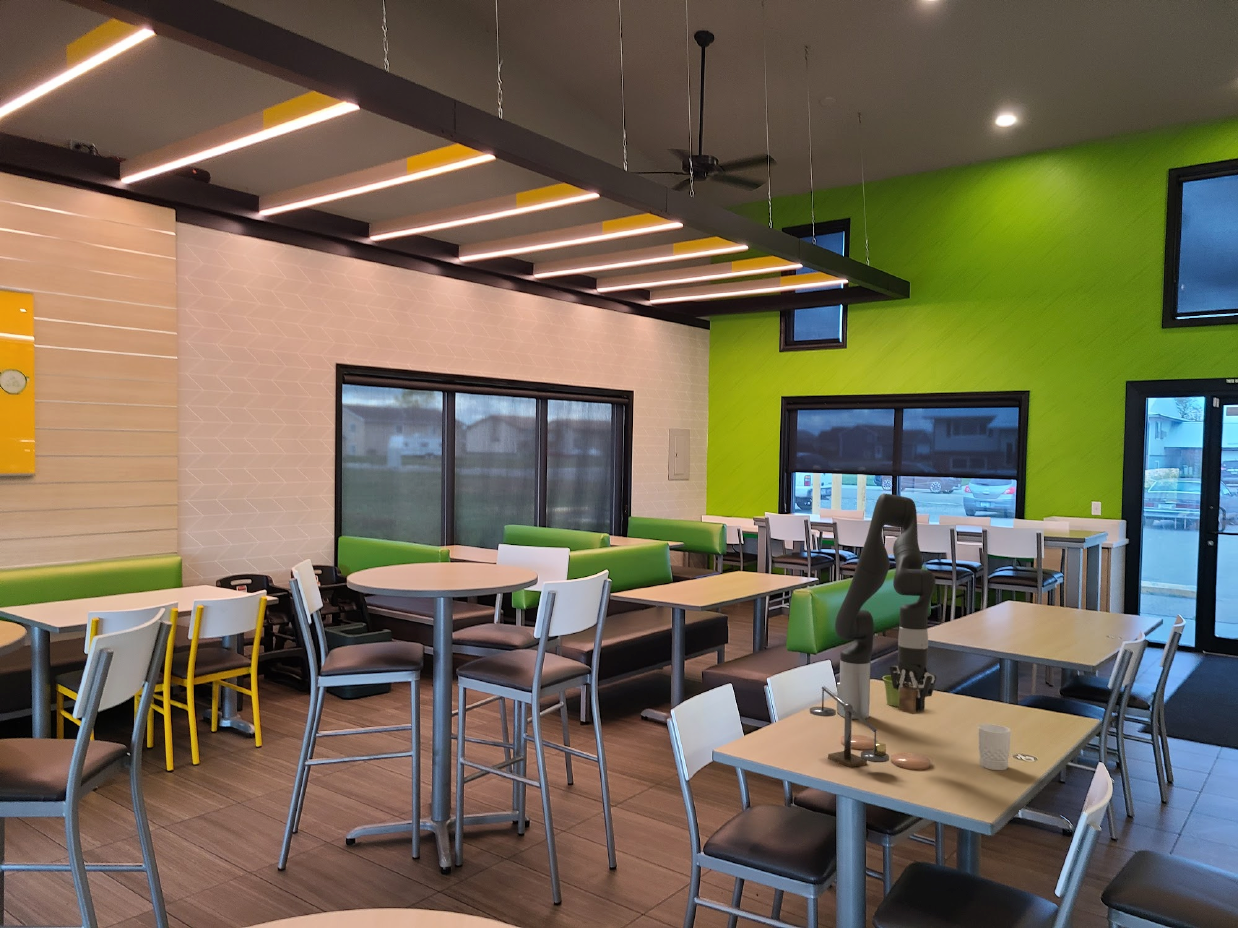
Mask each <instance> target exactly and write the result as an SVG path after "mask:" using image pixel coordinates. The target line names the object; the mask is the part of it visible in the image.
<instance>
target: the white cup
mask: <svg viewBox="0 0 1238 928" xmlns="http://www.w3.org/2000/svg"><path fill="white" fill-rule="evenodd" d="M977 729H978V730H977V731H978V735H977V736H978V754H979V764H980V766H981V767H982V768H983V769H987V770H992V771H1005V770H1007V769H1008V767H1009V758H1010V749H1011V748H1010V747H1011V735H1012V733H1011V732H1012V730H1011V729H1010V728H1009V727H1007V726H1003V725H999V724H992V723H983V724H980V725H978V726H977Z"/></svg>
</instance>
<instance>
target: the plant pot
mask: <svg viewBox="0 0 1238 928" xmlns="http://www.w3.org/2000/svg"><path fill="white" fill-rule="evenodd" d="M881 678H882V680H883V683H884V689H885V695H886V696H885V698H886V703H887V705H888V706H894V707H896V706H897V707H898V708H899V691H898V690H897V689H894V688H893V684H892V679H891V674H890V675H883V676H882V677H881ZM896 681H897V679H896ZM897 684H898V683H897ZM909 686H911V684H910V685H909ZM897 707H896V708H897Z"/></svg>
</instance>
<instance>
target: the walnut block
mask: <svg viewBox="0 0 1238 928" xmlns="http://www.w3.org/2000/svg"><path fill="white" fill-rule="evenodd" d="M920 692H921V690H920ZM916 698H917V696H916V691H915V689H914V688H913V685H910V686H905V687H900V690H899V707H898V710H899V711H901V712H903V713H908V714H911V715H916V714H922V713H925V709H924V710H923V711H922V712H916Z"/></svg>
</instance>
